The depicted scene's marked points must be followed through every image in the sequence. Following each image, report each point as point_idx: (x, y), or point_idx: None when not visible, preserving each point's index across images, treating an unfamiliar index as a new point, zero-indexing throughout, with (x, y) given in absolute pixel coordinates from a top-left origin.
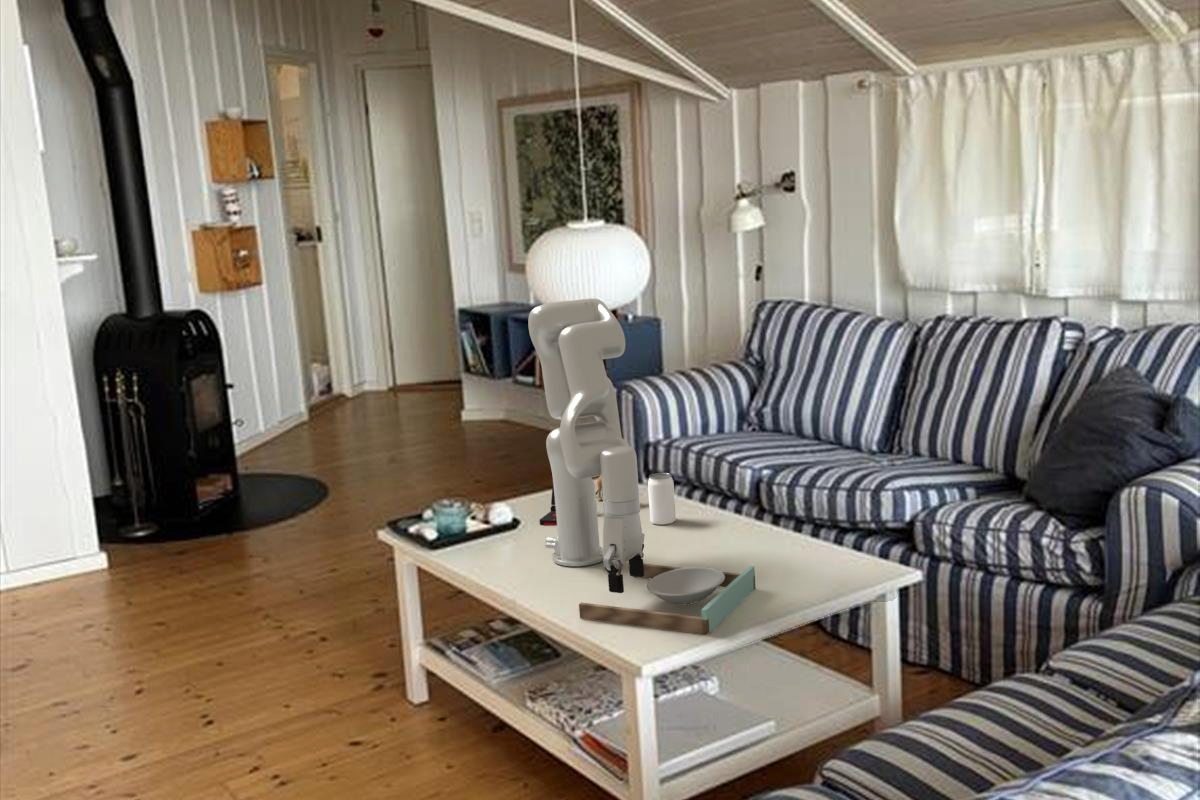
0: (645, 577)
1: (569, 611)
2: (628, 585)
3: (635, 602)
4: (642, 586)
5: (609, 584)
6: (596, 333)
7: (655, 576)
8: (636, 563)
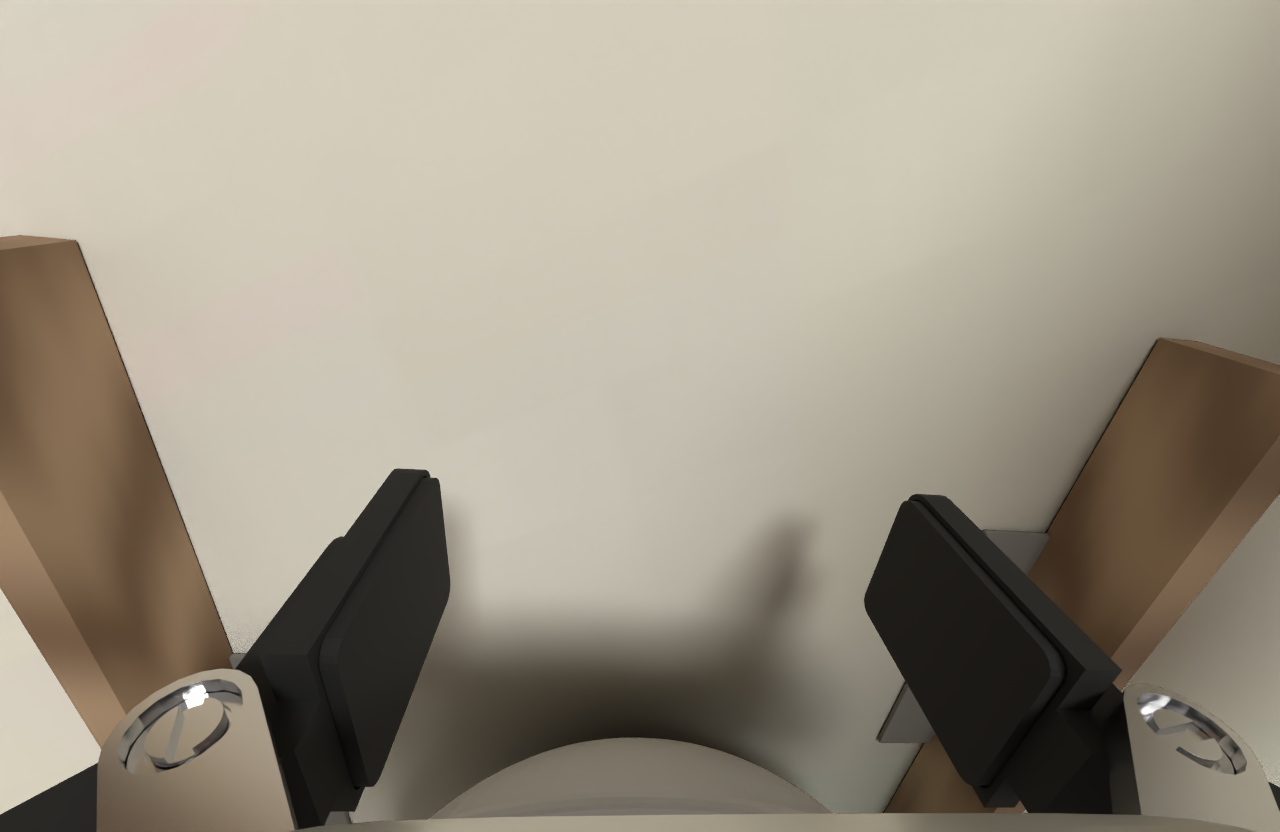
0: (1109, 441)
1: (96, 3)
2: (951, 362)
3: (582, 538)
4: (918, 473)
5: (360, 527)
6: None
7: (697, 813)
8: (963, 696)
